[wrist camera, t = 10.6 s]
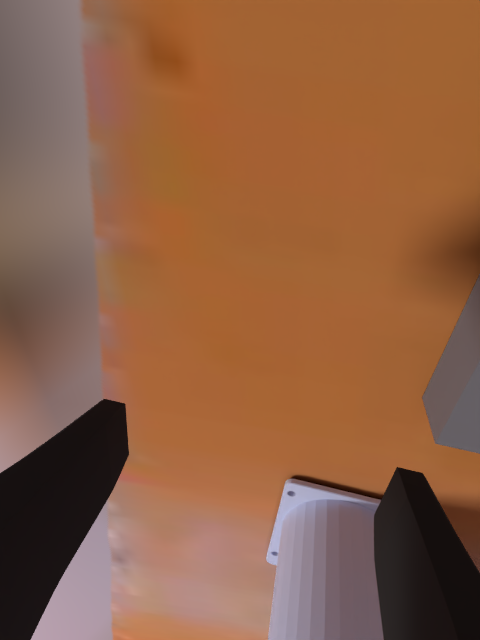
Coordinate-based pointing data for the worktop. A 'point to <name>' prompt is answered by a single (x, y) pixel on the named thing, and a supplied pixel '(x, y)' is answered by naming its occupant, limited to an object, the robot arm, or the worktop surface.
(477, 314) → the power strip
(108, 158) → the worktop surface
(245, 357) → the worktop surface
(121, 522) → the worktop surface
